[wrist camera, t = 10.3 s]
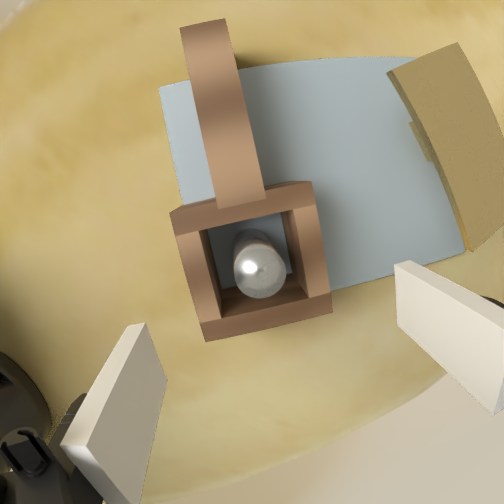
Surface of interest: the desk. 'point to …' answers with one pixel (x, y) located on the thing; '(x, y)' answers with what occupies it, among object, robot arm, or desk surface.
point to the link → (242, 203)
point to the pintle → (257, 264)
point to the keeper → (457, 137)
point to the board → (328, 165)
